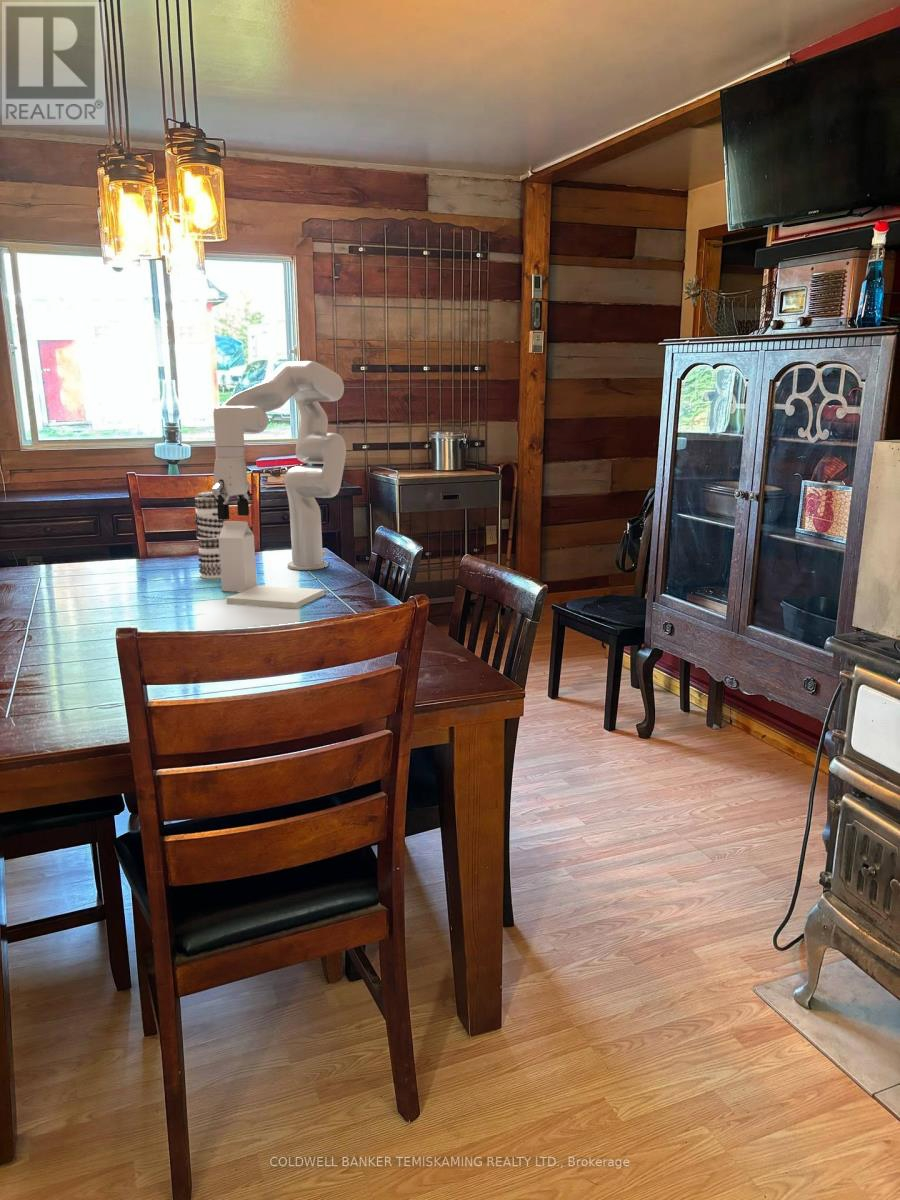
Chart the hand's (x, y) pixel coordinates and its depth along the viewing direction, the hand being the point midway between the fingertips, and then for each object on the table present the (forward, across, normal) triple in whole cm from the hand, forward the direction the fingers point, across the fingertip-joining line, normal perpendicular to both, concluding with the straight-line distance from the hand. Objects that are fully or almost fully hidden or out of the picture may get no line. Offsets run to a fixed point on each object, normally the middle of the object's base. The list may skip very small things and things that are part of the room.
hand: (233, 517), depth 223 cm
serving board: (+20, +7, +16) cm, 27 cm away
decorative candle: (+20, -16, -18) cm, 31 cm away
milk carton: (+20, -1, 0) cm, 20 cm away
